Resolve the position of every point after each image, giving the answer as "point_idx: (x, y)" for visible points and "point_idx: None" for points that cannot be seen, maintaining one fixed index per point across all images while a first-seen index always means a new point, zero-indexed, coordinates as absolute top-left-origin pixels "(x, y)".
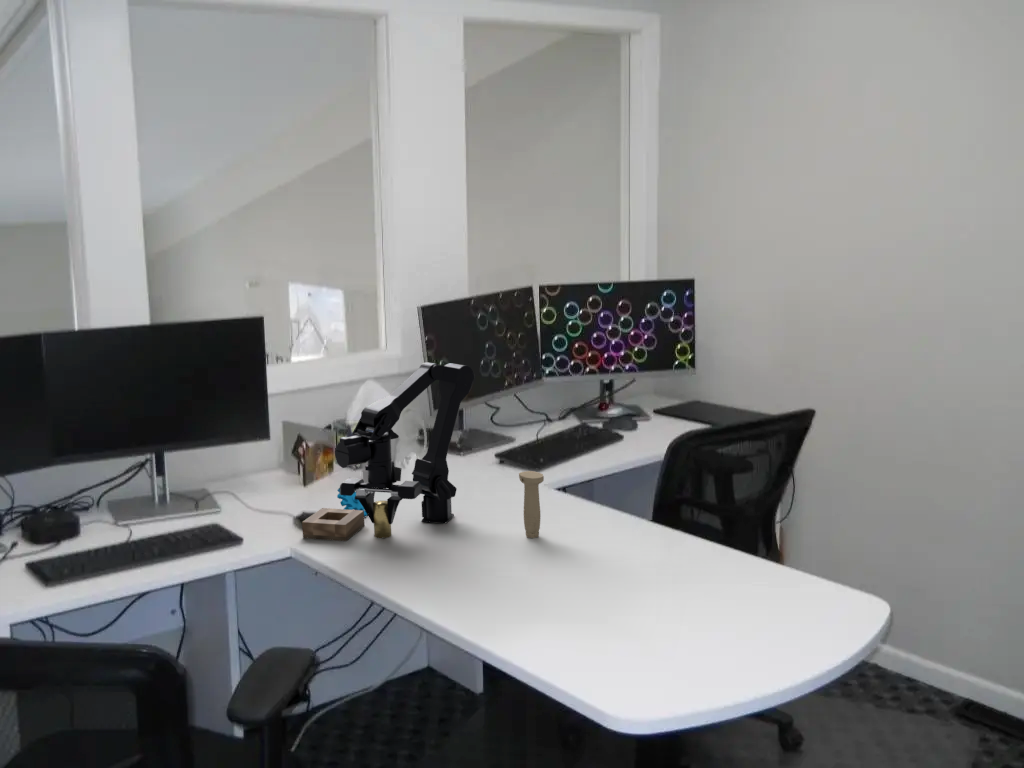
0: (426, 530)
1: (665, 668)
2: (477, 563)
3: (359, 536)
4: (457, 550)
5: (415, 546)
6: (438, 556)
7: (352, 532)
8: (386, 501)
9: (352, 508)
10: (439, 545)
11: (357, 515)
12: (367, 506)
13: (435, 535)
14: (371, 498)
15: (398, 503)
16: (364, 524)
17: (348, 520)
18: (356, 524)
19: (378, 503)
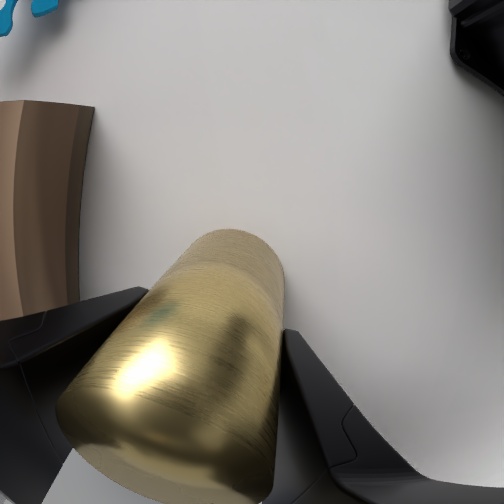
0: (479, 211)
1: None
2: (486, 463)
3: (108, 278)
4: (494, 419)
5: (394, 414)
6: (434, 459)
7: (67, 277)
8: (205, 441)
9: (7, 10)
10: (472, 396)
11: (13, 223)
12: (63, 450)
13: (498, 293)
14: (8, 432)
15: (392, 466)
16: (87, 107)
17: (15, 317)
18: (49, 230)
19: (125, 463)
